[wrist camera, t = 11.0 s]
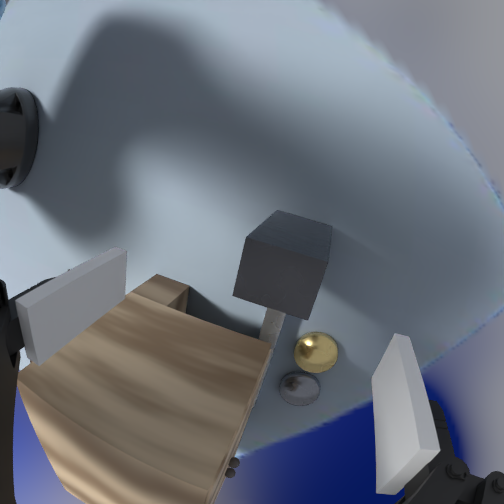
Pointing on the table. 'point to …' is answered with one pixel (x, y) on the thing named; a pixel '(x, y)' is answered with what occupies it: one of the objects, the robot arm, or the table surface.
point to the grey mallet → (283, 270)
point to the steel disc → (299, 388)
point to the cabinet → (146, 401)
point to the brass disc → (316, 352)
